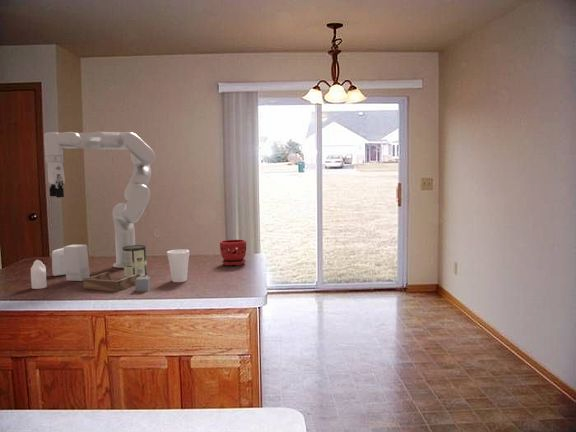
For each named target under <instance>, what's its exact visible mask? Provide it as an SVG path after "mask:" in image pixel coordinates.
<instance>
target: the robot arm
mask: <svg viewBox="0 0 576 432" xmlns="http://www.w3.org/2000/svg"><path fill="white" fill-rule="evenodd" d="M43 141H44V156H45V157H44V159H45V164H47V181H48V187H49V197H55V198H64V197H65V194H64V193H65V192H64V184H66V179H65V178H66V177H65V171H64V165H63V163H64V153H63V151H64V150H63V149H84V150H85V149H88V150H117V151H118V150H120V151H121V150H124V151H127V150H128V151H129V153H131V154H130V159H131V162H132V164H133V174H132V176H131V179H130V180H129V182H128V184H127V185H126V187H125V190H124V194H123V196H124V199H125V200H127V201H126V202H120V203H117V204H115V205H114V207H113V209H112V220H113V227H114V240H115V241H114V242H115V257H116V258H115V260H116V262H115V263H113V264H112V267H114V268H116V269H117V268H118V269H124V260H123V247H125V246H130V245H136V230H135V223H137V222H138V221H139V220H140V219H141V217H142V215H143V214H144V211H145V209H146V207H147V205H148V203H149V201H150V198H151V191H150V188H149V187H148V184H149V182H150V180H151V177H152V168H151V165H152V164H153V163H154V162H155V160H156V153H155V152H154V150H153V149H152V147H150V146H149V145H148V144H147V143H146V142H145V141H144V140H143V139H142V138H141V137H139V136H138V135H137V134H136V133H134V132H132V131H127V132H126V131H123V132H122V131H93V132H76V131H75V132H74V131H65V132H57V131H56V132H55V131H51V132H50V131H49V132H47V131H46V132H44V134H43Z"/></svg>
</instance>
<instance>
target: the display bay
mask: <svg viewBox="0 0 576 432" xmlns="http://www.w3.org/2000/svg"><path fill="white" fill-rule="evenodd" d="M138 277H140V274H134V275H131V276H129V277H126V278H124V277H123V278H121V279H118V280H110V279H111V278H110V271H105V272H102V273H99V274H96V275H92V276H90V277H89V278H86V279H83V281H82V282H83V289H84V290H95V291H107V292H108V291H109V292H110V291H111V292H120V291H123V290H125V289H126V290H127V288H131V287H133V286H136V282H135V279H136V278H138Z"/></svg>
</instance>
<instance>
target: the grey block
mask: <svg viewBox="0 0 576 432" xmlns="http://www.w3.org/2000/svg"><path fill="white" fill-rule="evenodd" d="M151 281H152V279H151V276H147V277H138V278H136V279H135V282H136V285H135V291H136V292H149V291H150V290H151V288H152V283H151Z"/></svg>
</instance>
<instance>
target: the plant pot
mask: <svg viewBox="0 0 576 432" xmlns="http://www.w3.org/2000/svg"><path fill="white" fill-rule="evenodd" d="M219 250H220V255H221V257H222V259H223V260H222V261H221V262H222V264H223V265H224V266H229V265H231V266H232V265H236V266H241V265H244V264H245V263H246V259H245V257H246V254H247V253H246V252H247V240H245V239H225V240H221V241H219ZM232 267H233V266H232Z"/></svg>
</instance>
